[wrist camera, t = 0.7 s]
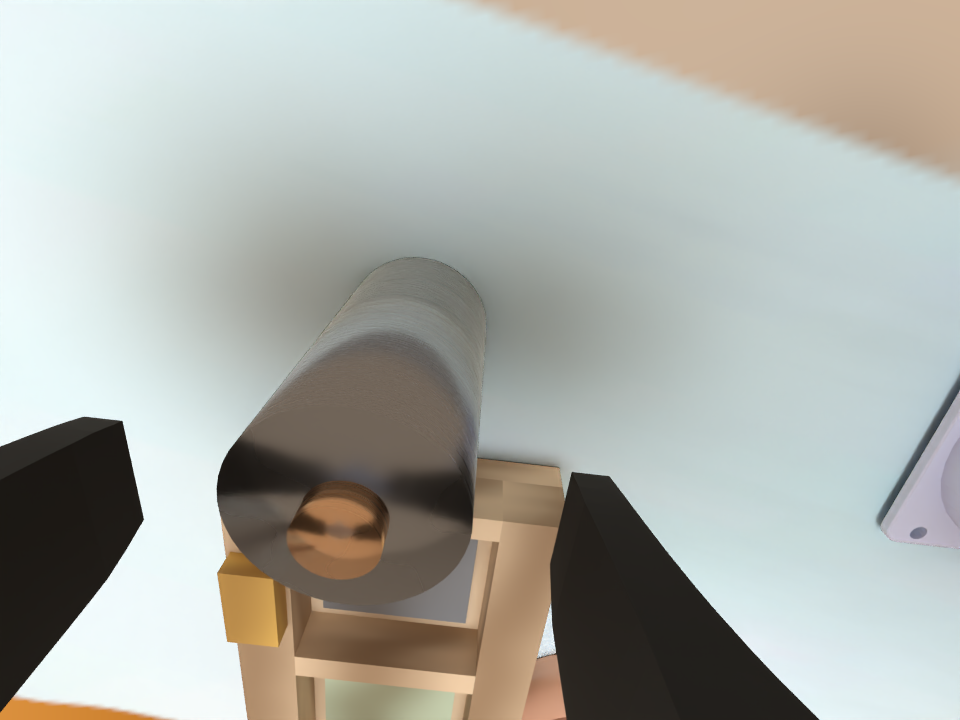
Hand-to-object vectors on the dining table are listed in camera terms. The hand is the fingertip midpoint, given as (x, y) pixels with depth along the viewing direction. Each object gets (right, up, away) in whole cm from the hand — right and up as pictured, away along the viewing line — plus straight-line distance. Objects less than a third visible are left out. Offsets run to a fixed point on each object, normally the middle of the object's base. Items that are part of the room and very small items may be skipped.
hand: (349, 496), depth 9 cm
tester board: (-1, -7, +12) cm, 14 cm away
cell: (0, +3, +7) cm, 8 cm away
